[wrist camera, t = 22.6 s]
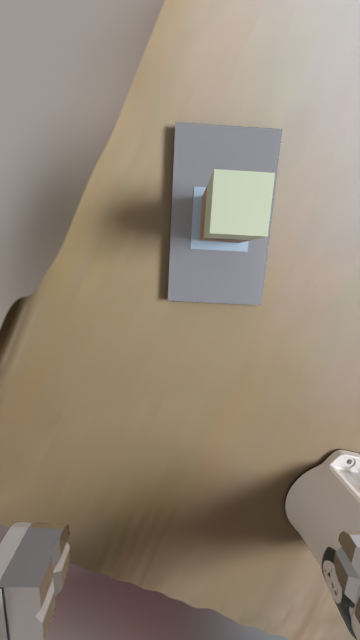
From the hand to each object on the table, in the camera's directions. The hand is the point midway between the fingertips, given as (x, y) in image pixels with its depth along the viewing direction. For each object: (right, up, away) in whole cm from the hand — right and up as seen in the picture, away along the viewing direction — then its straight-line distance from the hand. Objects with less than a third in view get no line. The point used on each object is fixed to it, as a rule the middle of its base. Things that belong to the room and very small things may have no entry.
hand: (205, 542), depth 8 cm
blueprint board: (+4, +19, +26) cm, 32 cm away
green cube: (+4, +18, +20) cm, 27 cm away
